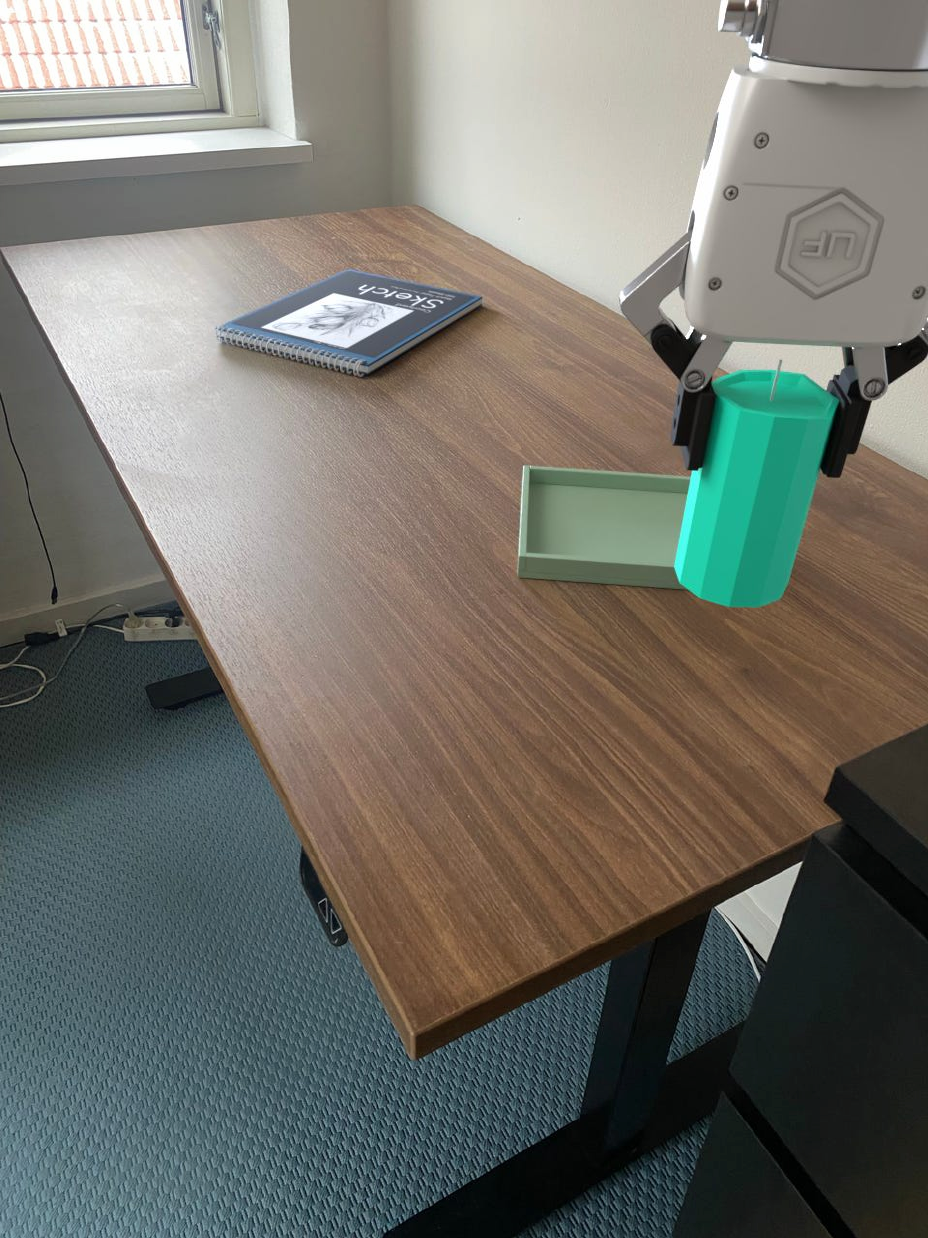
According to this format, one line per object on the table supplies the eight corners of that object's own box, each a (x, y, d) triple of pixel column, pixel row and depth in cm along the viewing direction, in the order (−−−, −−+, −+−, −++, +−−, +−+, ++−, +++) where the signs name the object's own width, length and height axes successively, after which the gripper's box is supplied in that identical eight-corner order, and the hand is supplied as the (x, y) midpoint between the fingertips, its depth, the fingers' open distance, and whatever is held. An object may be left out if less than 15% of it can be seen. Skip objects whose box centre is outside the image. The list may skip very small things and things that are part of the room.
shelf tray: (707, 497, 85) (712, 477, 84) (733, 593, 73) (738, 571, 72) (521, 485, 86) (523, 464, 85) (517, 577, 74) (518, 555, 73)
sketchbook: (482, 306, 125) (483, 290, 124) (363, 382, 104) (363, 364, 103) (347, 277, 133) (347, 262, 131) (211, 342, 111) (209, 325, 110)
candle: (706, 616, 47) (756, 392, 40) (655, 553, 51) (691, 342, 44) (810, 598, 48) (876, 379, 41) (751, 539, 53) (802, 332, 46)
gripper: (635, 33, 32) (584, 489, 43) (1145, 48, 31) (962, 509, 42) (621, 15, 38) (579, 420, 49) (1049, 28, 37) (910, 436, 48)
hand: (757, 458), depth 46 cm, fingers closed on candle, 5 cm apart
